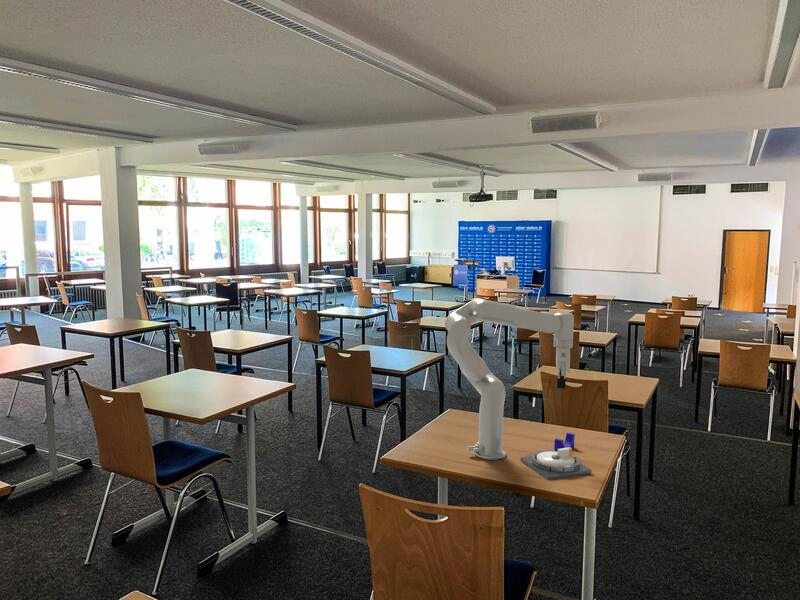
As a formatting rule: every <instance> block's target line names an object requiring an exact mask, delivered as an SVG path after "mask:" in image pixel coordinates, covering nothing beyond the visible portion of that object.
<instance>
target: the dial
mask: <svg viewBox="0 0 800 600" xmlns="http://www.w3.org/2000/svg"><path fill="white" fill-rule="evenodd" d="M552 451H553V450H550V451H549V452H541V453H539V454H538V455H537V460H538V461H539V462H541V463H544V464H547V465H551V466H561V467H563V466H568V465H570V466H571V465H574V464H575V459H574V458H573V457H572V455H573V448H570V447H567V448H562V449H558V452H552Z"/></svg>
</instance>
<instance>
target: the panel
mask: <svg viewBox="0 0 800 600" xmlns="http://www.w3.org/2000/svg"><path fill="white" fill-rule="evenodd" d="M549 451H552V452H558V451H554V450H550V449H548V450H546V449H545V450H539V451H538V450H537V451H536V452H534V453H532V454H531V455H528V456H527V455H526V456H520V462H522V463H523V464H525V465H526V466H527V465H528V466H527V467H529V468H530V469H532V470H533V471H535V472H536V473H537V474H539V475H540V476H542V477H543V478H545V479H546V480H554V479H561V478H562V479H563V478H569V477H577V476H584V475H592V474H593V473H592V472H593V470H592V469H591V468H590V467H588V466H586V465H584V464H583V463H582V462H580V458H579V457H577V456H576V455H574V454H572V457H573V458H574V459H575V464H574V465H571V466H570V465H568V466H563V467H561V466H551V465H547V464H544V463H541V462H539V461H538V460H537V455H538V454H539V453H541V452H549ZM591 473H592V474H591Z"/></svg>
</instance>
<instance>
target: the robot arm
mask: <svg viewBox="0 0 800 600" xmlns="http://www.w3.org/2000/svg"><path fill="white" fill-rule="evenodd" d="M478 321H480V322H486V323H490V324H498V325H501V326H502V325H503V326H507V327H513V328H518V329H526V330H530V331H535V332H540V333H546V334H553V343H552V344H553V345H552V347H554V348H555V368H556V371H557V378H556V388H557V389H561V390H564V389H566V385H567V384H566V382H567V379H566V378H567V377H566V375H567V373H569V374H570V372H571V349H572V348H573V346H574V345H573V344H574V327H575V316H574V314H573V313H571V312H567V311H566V312H561V311H560V312H559V311H558V312H551V311H537V310H532V309H528V308H524V307H522V306H519V305H516V304H512V303H511V304H509V303H505V302H500V301H493V300H489V299H485V298H481V297H479V298H478V297H477V298H474V299H472V300H471V301H469V302H467V303H465V304H463V305H462V306H460V307H459V308H457V309H456V310H455V311H453V312H451V313H450V314H448V316H447V317H446V319H445V321H444V327H445V329H446V331H447V336H446V346H447V350H448V351H449V353H450V355H451V356H452V357H453V359H454V361H456V363H457V364H458V365H459V369H460V371H461V373H462V374H463V375H464V376H465V378H466V379H467V381H468V382H469V383H470V384H471V385H472V386H473V387H474V389H475V390H476V392H478V393H479V395H480V403H479V409H478V410H479V413H478V440H477V441H476V442H475V444H474V445H468V446H466V450H467V451H468V452H471V451H472V452H473V455H475V456H476V457H477V458H480V459H483V460H491V461H496V460H502V459H504V458H506V455H507V452H506V451H505V450H504V449H503V435H504V434H503V433H504V431H503V429H504V407H505V406H504V405H505V400H506V387H505V385H504V383H503V381H502V380H501V379H500V378H498V377H497V376H496V375H494V373H493V372H492V371H491V369H489V368H488V366H487V363H486V361H485V360H484V359H483V358H482V356H480V355H479V354H478V352H476V350H475V348H473V345H472V344H471V343H470V341H469V335H470V331H471V325H473V324H475V323H476V322H478ZM566 372H567V373H566Z"/></svg>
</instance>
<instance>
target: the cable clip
mask: <svg viewBox="0 0 800 600" xmlns="http://www.w3.org/2000/svg"><path fill="white" fill-rule="evenodd" d="M567 447H570V448H572V449H574V448H575V433H571V432H566V435H565V439H561V438H555V439H554V446H553V451H558V449H562V448H567Z"/></svg>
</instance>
